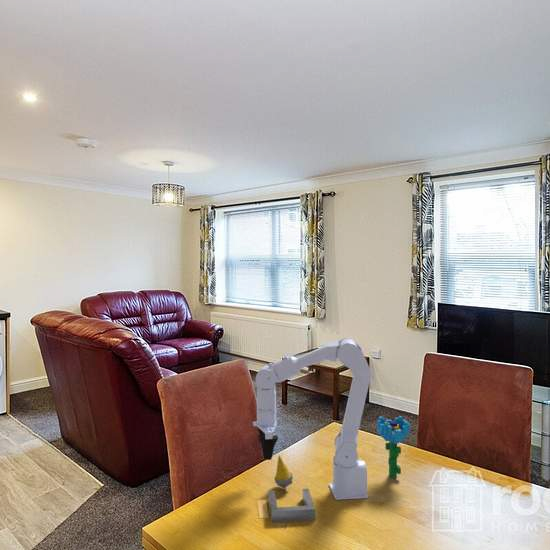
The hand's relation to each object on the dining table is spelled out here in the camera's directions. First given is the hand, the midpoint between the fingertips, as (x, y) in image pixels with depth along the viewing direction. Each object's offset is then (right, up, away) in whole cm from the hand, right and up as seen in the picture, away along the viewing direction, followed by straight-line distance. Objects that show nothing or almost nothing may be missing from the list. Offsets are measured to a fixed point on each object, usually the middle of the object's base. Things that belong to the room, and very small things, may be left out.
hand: (266, 453), depth 119 cm
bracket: (+7, -10, -12) cm, 17 cm away
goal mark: (-1, -10, -11) cm, 15 cm away
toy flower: (+39, -10, +6) cm, 41 cm away
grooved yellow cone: (+6, -10, -2) cm, 12 cm away
